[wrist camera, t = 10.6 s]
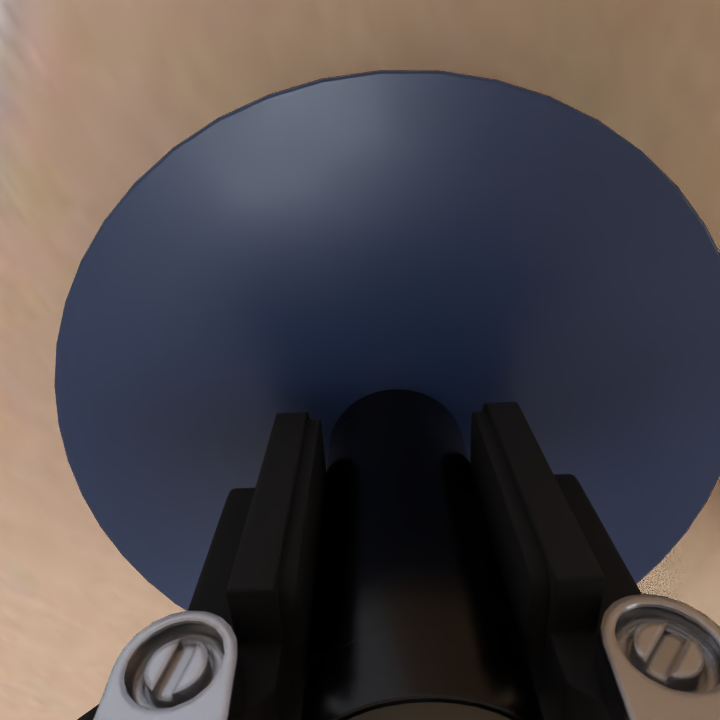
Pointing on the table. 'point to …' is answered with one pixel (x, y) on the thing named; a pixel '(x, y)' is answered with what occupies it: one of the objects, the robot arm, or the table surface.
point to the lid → (395, 359)
